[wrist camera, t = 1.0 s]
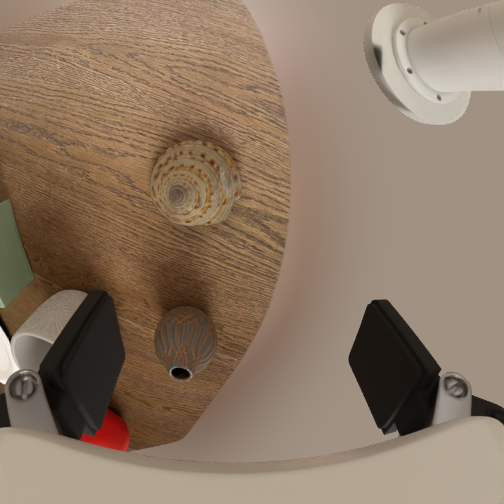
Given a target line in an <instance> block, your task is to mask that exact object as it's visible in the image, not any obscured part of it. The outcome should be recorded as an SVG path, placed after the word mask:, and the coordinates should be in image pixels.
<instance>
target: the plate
mask: <svg viewBox="0 0 504 504" xmlns="http://www.w3.org/2000/svg"><path fill="white" fill-rule="evenodd" d="M18 370H19V368H18V367H17V365H16V363H15V361H14V358H13V356H12V352H11V343H10V341H9V339H8V337H7V335H6V333H5V332H4V330H3V329H2V327H1V325H0V382H1V383H3V384H6V382H7V380H8V378H9V377H10V376H11V375H12V374H13V373H14V372H16V371H18Z"/></svg>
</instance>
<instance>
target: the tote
mask: <svg viewBox="0 0 504 504" xmlns="http://www.w3.org/2000/svg"><path fill="white" fill-rule="evenodd" d="M34 279H35V278H34V275H33V273H32V270H31V268H30V265H29V262H28V259H27V257H26V254H25V251H24V248H23V245H22V242H21V239H20V235H19V232H18V229H17V225H16V221H15V218H14V214H13V210H12V206H11V202H10V199H8V200H6V201H4V202H2V203H0V308H5V307H6V306H7V305H8V304H9V303H10V302H11V301H12V300H13V299H14V298H15V297H16V296H17V295H18V294H19V293H20V292H21V291H22V290H23V289H24V288H25V287H26V286H27V285H28V284H29V283H30V282H31V281H32V280H34Z"/></svg>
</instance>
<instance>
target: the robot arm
mask: <svg viewBox="0 0 504 504" xmlns="http://www.w3.org/2000/svg"><path fill="white" fill-rule="evenodd" d="M392 45H393V52H394V56H395V59H396V62H397V64H398V67H399V69H400V71H401V73H402V74H403V76H404V78H405V79H406V80H407V82H408V83H409V84H410V86H411V87H412V88H413V89H414V90H415V91H416V92H417V93H418V94H419V95H421V96H422V97H423V98H425V99H427V100H428V101H431V102H433V103H438V104H447V103H451V102H453V101H455V100H456V99H457V98H458V97H459V95H460V93H461V91H504V0H501V1H497V2H493V3H489V4H485V5H481V6H478V7H474V8H470V9H467V10H464V11H461V12H458V13H455V14H452V15H449V16H446V17H443V18H440V19H438V20H435V21H433V22H430V23H429V22H427V21H424V20H421V19H415V18H413V19H407V20H405V21H403V22H401V23H400V24H398V26H397V27H396V28H395V30H394V33H393V39H392ZM124 360H125V349H124V346H123V342H122V338H121V334H120V330H119V326H118V322H117V318H116V313H115V309H114V304H113V299H112V297H111V296H108V293H107V292H106V291H98V290H91V291H90V292H89V293H88V295H87V296H86V297H85V299H84V300H83V302H82V303H81V304H80V306H79V307H78V308H77V310H76V311H75V313H74V314H73V315H72V317H71V318H70V320H69V321H68V322H67V324H66V325H65V327H64V328H63V330H62V331H61V333H60V334H59V336H58V337H57V339H56V340H55V342H54V343H53V345H52V346H51V348H50V349H49V351H48V353H47V354H46V356H45V357H44V359H43V361H42V362H41V364H40V366H39V367H40V369H39V370H38V372H36V371H33V370H31V369H21V370H18V371H16V372H14V373H13V374H12V375H11V376H10V377H9V378H8V380H7V382H6V385H5V393H3V394H1V395H0V504H504V408H502V407H501V406H499V405H497V404H494V403H492V402H489V401H486V400H484V399H481V398H478V397H476V396H473V395H472V390H471V386H470V384H469V382H468V381H467V380H466V378H464V377H463V376H462V375H460V374H458V373H454V372H447V373H445V374H443V375H442V376H441V378H440V376H439V375H438V374H439V372H440V371H441V368H440V367H439V365H438V364H437V362H436V361H435V359H434V358H433V357H432V355H431V354H430V353H429V351H428V350H427V349H426V347H425V346H424V345H423V343H422V342H421V341H420V340H419V338H418V337H417V336H416V334H415V333H414V332H413V331H412V329H411V328H410V327H409V325H408V324H407V323H406V322H405V321H404V319H403V318H402V317H401V316H400V314H399V313H398V312H397V311H396V309H395V308H394V307H393V306H392V305H391V303H390V302H389V301H388V300H373V301H372V302H371V303H370V304H368V305H367V308H366V310H365V314H364V316H363V320H362V322H361V325H360V328H359V331H358V333H357V336H356V339H355V341H354V344H353V347H352V349H351V352H350V354H349V364H350V366H351V368H352V371H353V373H354V375H355V377H356V380H357V382H358V384H359V386H360V388H361V391H362V393H363V395H364V397H365V399H366V401H367V404H368V406H369V408H370V411H371V413H372V415H373V418H374V420H375V422H376V425H377V426H378V428H380V429H382V431H383V433H384V435H385V434H389V433H392V432H396V430H398V432H399V436H398V438H395V439H392V440H388V441H385V442H382V443H378V444H374V445H370V446H367V447H362V448H358V449H354V450H349V451H345V452H340V453H335V454H329V455H323V456H317V457H310V458H302V459H294V460H284V461H271V462H252V463H218V462H197V461H184V460H174V459H166V458H158V457H151V456H145V455H139V454H134V453H129V452H124V451H119V450H115V449H110V448H106V447H102V446H98V445H94V444H90V443H86V442H83V441H81V437H82V434H87V435H90V436H94V437H95V434H96V431H97V430H100V429H101V427H102V425H103V421H104V418H105V415H106V412H107V409H108V406H109V403H110V400H111V397H112V394H113V391H114V388H115V385H116V382H117V379H118V377H119V374H120V371H121V368H122V366H123V363H124Z"/></svg>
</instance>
